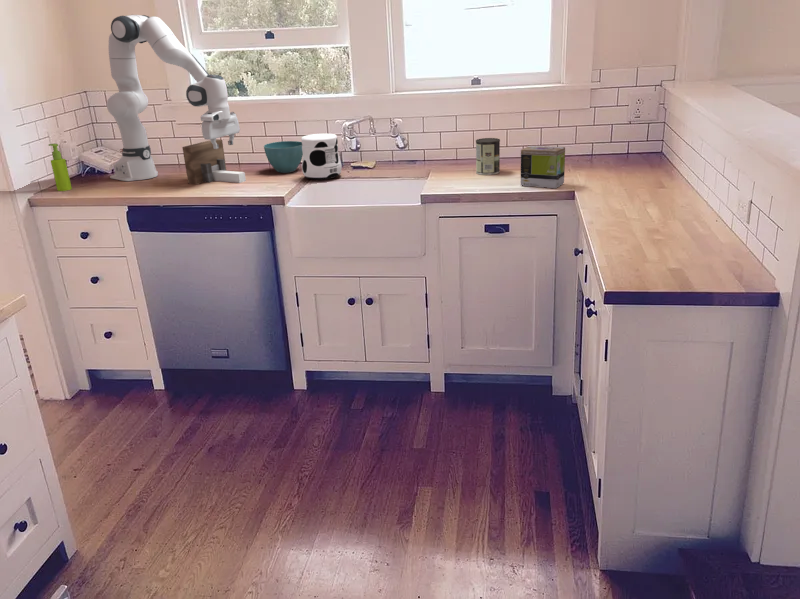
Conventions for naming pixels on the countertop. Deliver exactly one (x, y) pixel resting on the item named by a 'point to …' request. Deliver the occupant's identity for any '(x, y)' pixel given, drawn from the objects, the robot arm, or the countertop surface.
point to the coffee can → (488, 156)
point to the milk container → (320, 156)
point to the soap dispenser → (60, 170)
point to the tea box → (542, 166)
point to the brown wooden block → (203, 161)
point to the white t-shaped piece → (227, 175)
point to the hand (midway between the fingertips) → (223, 146)
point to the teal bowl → (284, 155)
